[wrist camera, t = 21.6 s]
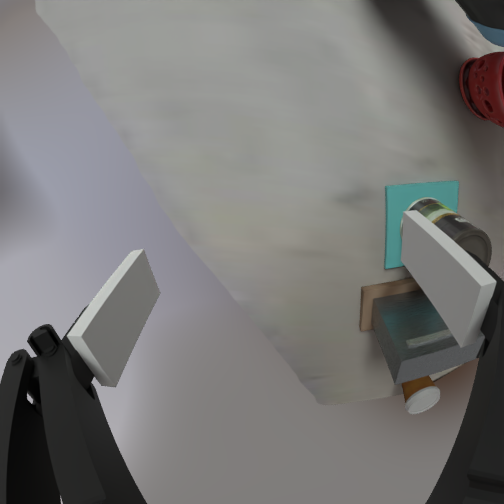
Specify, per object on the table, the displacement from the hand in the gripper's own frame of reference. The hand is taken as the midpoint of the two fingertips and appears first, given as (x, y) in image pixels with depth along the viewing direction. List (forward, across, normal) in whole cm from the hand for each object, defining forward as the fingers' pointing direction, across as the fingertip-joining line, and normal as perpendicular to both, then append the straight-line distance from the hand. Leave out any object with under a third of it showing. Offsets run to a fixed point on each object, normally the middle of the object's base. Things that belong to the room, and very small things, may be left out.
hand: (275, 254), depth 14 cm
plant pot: (+31, +40, +10) cm, 52 cm away
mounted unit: (+31, +26, -30) cm, 50 cm away
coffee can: (+30, +25, -14) cm, 42 cm away
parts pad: (+31, +26, -14) cm, 42 cm away
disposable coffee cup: (+31, +29, -55) cm, 69 cm away
